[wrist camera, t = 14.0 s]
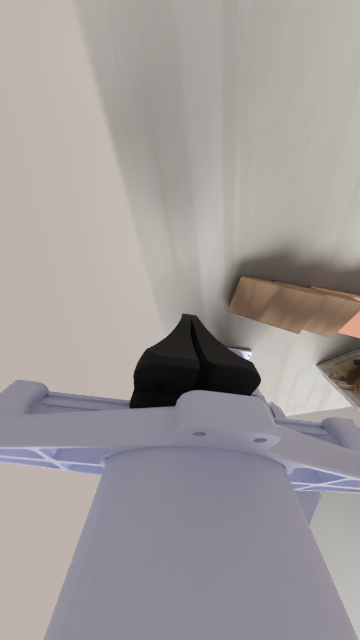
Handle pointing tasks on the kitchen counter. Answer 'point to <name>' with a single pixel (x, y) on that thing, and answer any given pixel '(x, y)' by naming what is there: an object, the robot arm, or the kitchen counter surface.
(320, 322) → the domino
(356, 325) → the domino
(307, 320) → the domino
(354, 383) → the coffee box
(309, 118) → the kitchen counter surface
